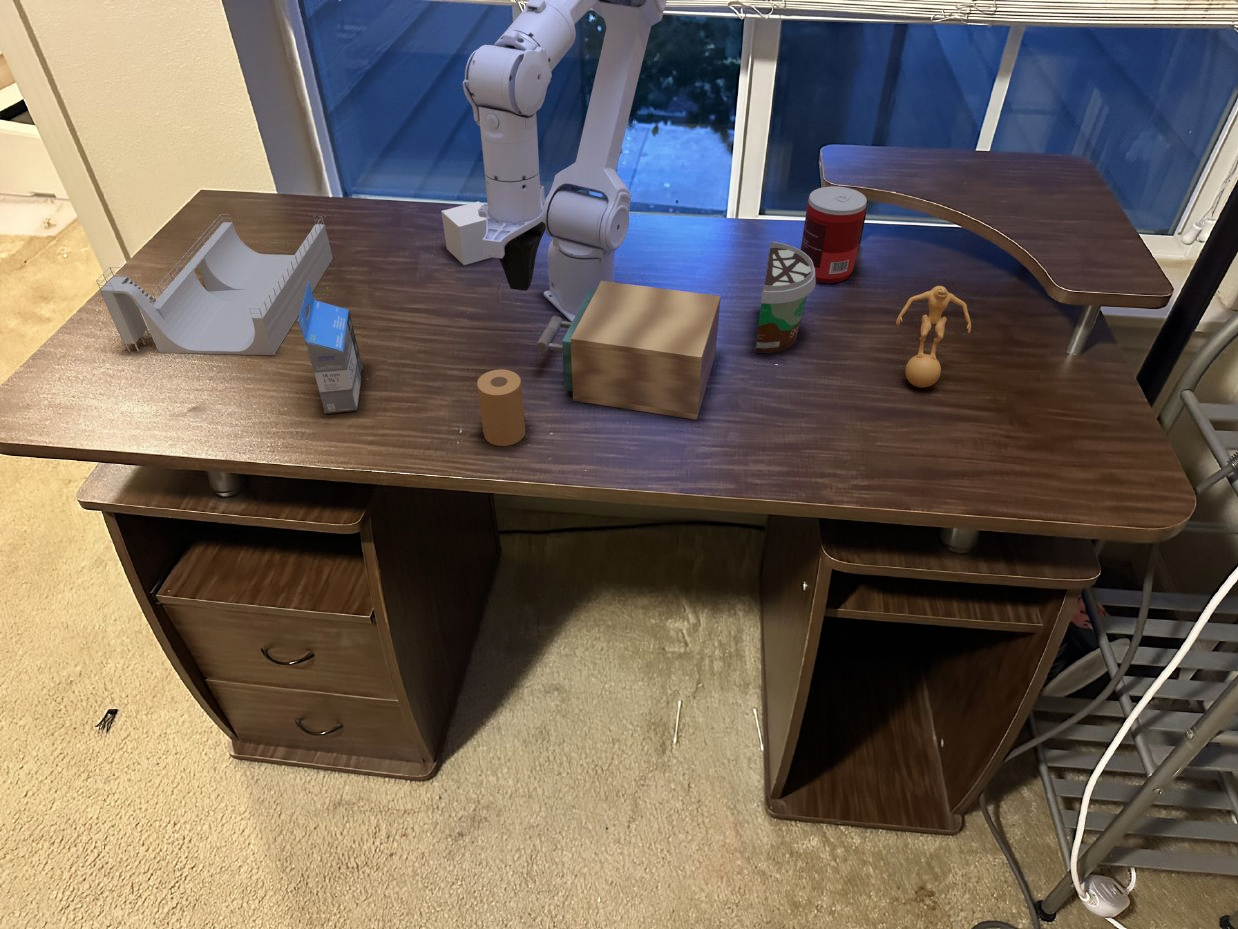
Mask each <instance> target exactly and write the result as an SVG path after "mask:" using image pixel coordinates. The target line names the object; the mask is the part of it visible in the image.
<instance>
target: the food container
mask: <svg viewBox="0 0 1238 929" xmlns="http://www.w3.org/2000/svg"><path fill="white" fill-rule="evenodd" d="M765 271H766V272H765V278H764V284H763V288H762V294H761V301H760V311H759V318H758V325H757V326H758V327H757V333H756V342H755V349H754V353H758V354H770V353H771V354H772V353H778V352H781V351H784V350H787V349H788V348H790V347H791V346H793V345H794V344H795V342H796V340H797V337H798V333H799V329H800V326H801V322H802V318H803V314H804V309H805V305H806V302H807V298H808V296H809V295H810V294H811V293H812V292H813V291H814V290H815V287H816V285H817V284H816V283H817V282H816V278H815V268H814V266H813V262H812V260H811V259H810V257H809V256H808V255H807V254H806V253H804V252H803V251H801V249H799V248H798V247H795V246H793V245H789V244H786V243H783V242H778V241H770V243H769V250H768V257H767V263H766V270H765Z"/></svg>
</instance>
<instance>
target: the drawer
mask: <svg viewBox="0 0 1238 929" xmlns="http://www.w3.org/2000/svg"><path fill="white" fill-rule="evenodd" d="M596 290H597V289H592V288H591V289H590V290H589V292H588V294H587V296H586V298H585V300H584V301H583V303H582V305H581V307H580V309H579V311H578V312H577V314H576V316H575V318H574V320H573V322H571V321H567V320H563V319H562V318H561V317H560V316H558V315H553V316H552V317H550V320H549V321H548V323H547V325H546V327H545V328H544V329H543V332H542V334H541V335H540V337H539V339H538V340H537V342H536V344H535V348H536V350H537V352H539V353H541V354H545V353H547V352H548V351H556V352H561V353H562V366H563V368H562V369H563V387H564V388H563V389H564V391H567V392H573V385H572V360H571V337H572V335H573V333H574V331H575V329H576V328H577V326H578V324H579V322H580V320H581V318H582V316H583V314H584V312H585V311H586V309H587V307H588V305H589V303H590V301H591V299H592V297H593V295H594V294H595V292H596ZM561 328H565V329H567V330H566V333H565V335H564V336H563V338H562V340H561V344H560V343H553V341H555V338H556V336H557V334H558V333H559V332H560V329H561Z"/></svg>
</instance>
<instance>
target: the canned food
mask: <svg viewBox="0 0 1238 929" xmlns="http://www.w3.org/2000/svg"><path fill="white" fill-rule="evenodd" d="M867 199H868V198H867V197H866V195H864V193H862V192H860V191H859V190H856V189H853V188H850V187H845V186H837V185H835V186H834V185H833V186H823V187H819V188H816V189H814V190H812V191H811V192H810V194H809V197H808V199H807V205H806V211H805V218H804V224H803V230H802V237H801V244H800V245H801V246H800V250H801V251H803V252H804V253H806V254H807V255H808V256H809V257H810V259H811V260H812V262H813V266H814V268H815V278H816V283H820V284H837V283H841V282H843V281H846V280H847V279H848V278H849V277H850V276H851V274H852V273H853V270H854V267H855V262H856V257H857V253H858V248H859V243H860V239H861V234H862V229H863V224H864V220H865V215H866V209H867V201H868V200H867Z"/></svg>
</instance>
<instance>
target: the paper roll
mask: <svg viewBox="0 0 1238 929" xmlns="http://www.w3.org/2000/svg"><path fill="white" fill-rule="evenodd" d="M476 385H477V395H478V401H479V408H480V416H481V424H482V430H483V438H484V440H486V442H488V443H489V444H491V445H494V446H498V447H509V446H512V445H513V446H514V445H515V444H517V443H519V442H521V441H522V439H524V437H525V435H526V422H525V421H526V420H525V413H524V412H525V410H524V402H523V401H524V400H523V391H522V390H523V389H522V379H521V377H520V375H519V374H517V373H516V372H515V371H512V370H509V369H494V370H490V371H486V372H485V373H483V374H481V376H479V378H478V379H477V382H476Z"/></svg>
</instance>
